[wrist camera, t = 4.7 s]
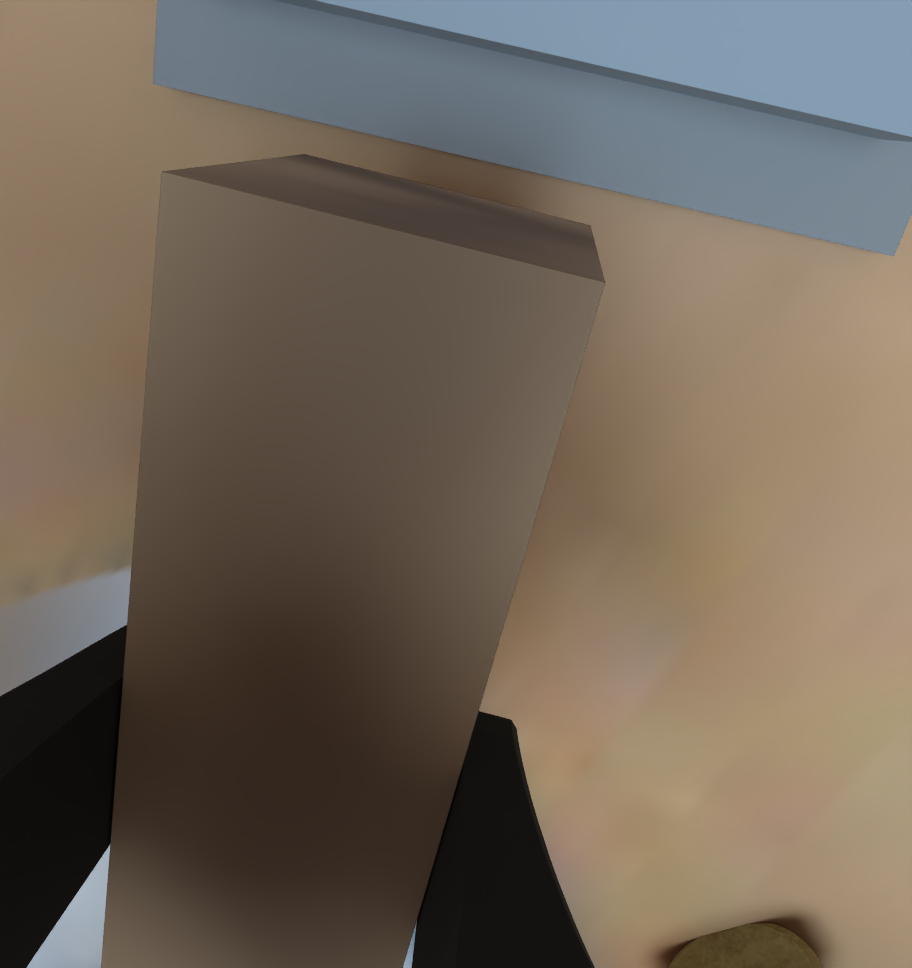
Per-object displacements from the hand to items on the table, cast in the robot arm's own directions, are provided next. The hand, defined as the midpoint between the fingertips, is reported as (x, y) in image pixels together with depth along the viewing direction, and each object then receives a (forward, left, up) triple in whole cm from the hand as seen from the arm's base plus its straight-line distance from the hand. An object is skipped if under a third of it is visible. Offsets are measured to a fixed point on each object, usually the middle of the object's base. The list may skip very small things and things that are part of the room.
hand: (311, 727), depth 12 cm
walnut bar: (0, 0, -3) cm, 3 cm away
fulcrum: (+1, +10, -8) cm, 13 cm away
